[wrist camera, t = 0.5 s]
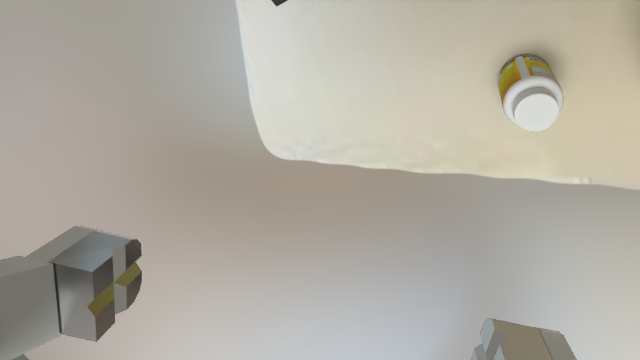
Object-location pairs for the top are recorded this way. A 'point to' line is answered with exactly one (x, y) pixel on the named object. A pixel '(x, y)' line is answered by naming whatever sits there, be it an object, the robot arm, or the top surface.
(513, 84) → the supplement bottle
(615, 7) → the top surface
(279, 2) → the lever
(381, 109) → the top surface
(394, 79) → the top surface
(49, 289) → the robot arm
